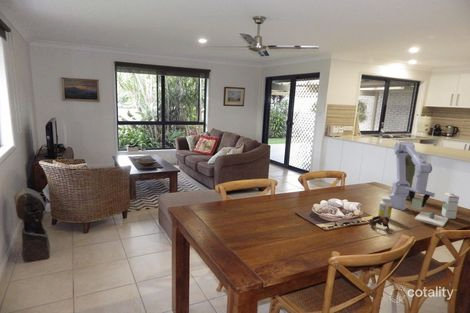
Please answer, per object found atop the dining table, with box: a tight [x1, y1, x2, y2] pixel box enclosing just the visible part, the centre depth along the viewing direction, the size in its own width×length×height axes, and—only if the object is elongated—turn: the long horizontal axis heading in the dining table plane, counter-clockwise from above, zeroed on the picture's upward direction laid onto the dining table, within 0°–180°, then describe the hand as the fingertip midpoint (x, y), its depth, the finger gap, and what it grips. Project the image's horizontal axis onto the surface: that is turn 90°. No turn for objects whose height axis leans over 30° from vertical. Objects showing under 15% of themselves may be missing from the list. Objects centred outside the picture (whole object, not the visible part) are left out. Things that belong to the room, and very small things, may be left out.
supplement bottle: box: [377, 196, 393, 221], centre depth 170 cm, size 7×7×13 cm
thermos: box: [398, 155, 416, 201], centre depth 208 cm, size 9×12×35 cm
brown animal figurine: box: [368, 215, 391, 234], centre depth 157 cm, size 12×10×8 cm
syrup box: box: [440, 192, 460, 220], centre depth 176 cm, size 6×6×14 cm
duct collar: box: [410, 196, 424, 212], centre depth 169 cm, size 5×5×6 cm
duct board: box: [414, 210, 449, 228], centre depth 171 cm, size 14×16×4 cm
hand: (417, 205), depth 170 cm, fingers closed on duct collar, 5 cm apart
